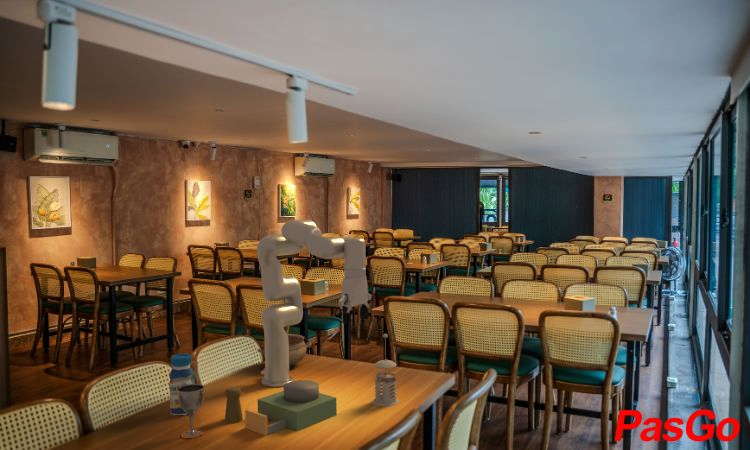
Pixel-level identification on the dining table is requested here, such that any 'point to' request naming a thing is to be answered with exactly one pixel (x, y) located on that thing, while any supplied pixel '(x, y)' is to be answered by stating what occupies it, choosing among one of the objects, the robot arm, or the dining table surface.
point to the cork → (233, 405)
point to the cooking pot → (294, 348)
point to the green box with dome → (291, 408)
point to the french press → (387, 387)
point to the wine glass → (191, 402)
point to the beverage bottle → (179, 380)
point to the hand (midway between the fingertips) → (355, 321)
